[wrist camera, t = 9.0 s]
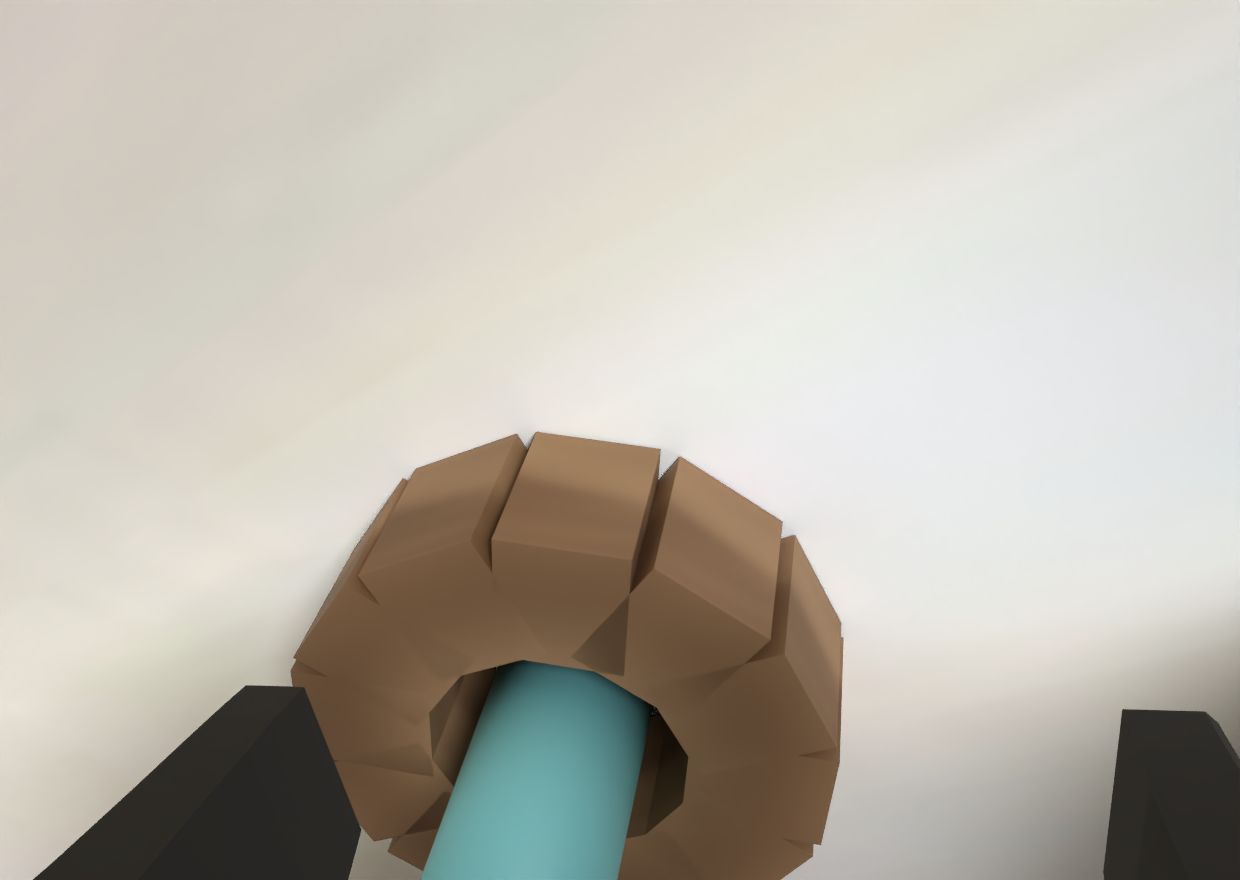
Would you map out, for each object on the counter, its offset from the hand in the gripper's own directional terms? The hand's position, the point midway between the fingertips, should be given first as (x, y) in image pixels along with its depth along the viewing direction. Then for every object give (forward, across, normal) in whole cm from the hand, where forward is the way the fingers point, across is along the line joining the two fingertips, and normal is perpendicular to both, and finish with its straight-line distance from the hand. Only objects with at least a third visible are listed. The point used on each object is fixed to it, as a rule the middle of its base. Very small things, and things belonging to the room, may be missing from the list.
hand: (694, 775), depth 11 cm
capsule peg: (+10, +4, +8) cm, 13 cm away
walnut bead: (+10, +4, +8) cm, 13 cm away
